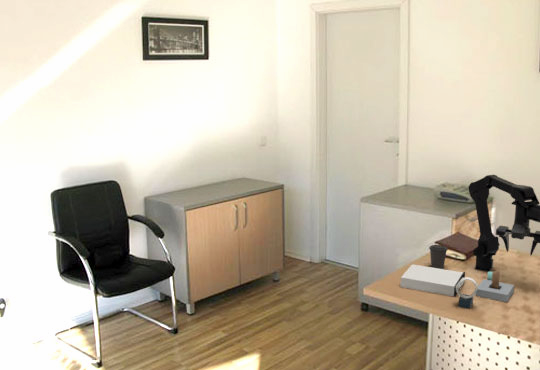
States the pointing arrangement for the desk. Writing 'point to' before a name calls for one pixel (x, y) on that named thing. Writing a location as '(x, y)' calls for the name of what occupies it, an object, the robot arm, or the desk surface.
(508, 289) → the block
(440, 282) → the disc drive
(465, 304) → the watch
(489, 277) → the teal pin
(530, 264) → the desk surface
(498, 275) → the walnut pin
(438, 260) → the coffee cup
